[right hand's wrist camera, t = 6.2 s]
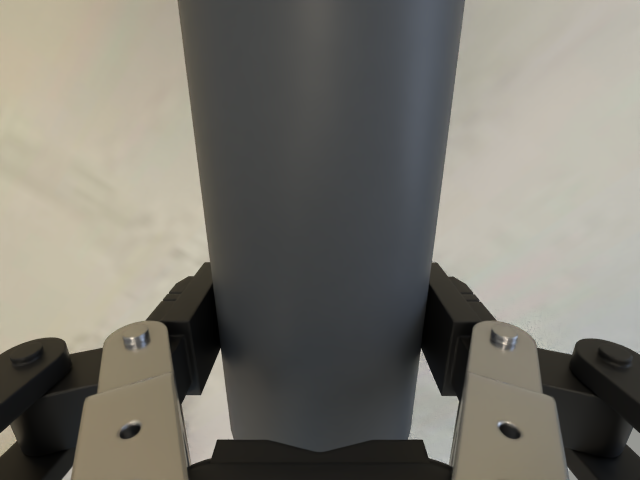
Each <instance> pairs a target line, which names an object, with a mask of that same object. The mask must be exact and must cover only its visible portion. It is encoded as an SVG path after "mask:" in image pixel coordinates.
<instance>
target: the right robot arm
mask: <svg viewBox="0 0 640 480" xmlns="http://www.w3.org/2000/svg"><path fill="white" fill-rule="evenodd" d="M220 348H221V345H220V337H219V329H218V321H217V313H216V305H215V297H214V289H213V280H212V272H211V264H210V262H205V263H204V264H203V265H202V267H201V268H200V269H199V270H198V272H197V273H196V274H195V276H188V277H187V278H185V279H183V280H182V281H180V282H178V283H177V284H176V285H175V286H174V287H173V288H172V289H171V291H170V292H169V294H167V295H166V297H165V298H164V299H163V301H161V303H160V304H159V305H158V306H157V307H156V309H155V310H154V311H153V312H152V313H151V315H150V316H149V317H148V318H147V319H146V321H141V322H136V323H132V324H129V325H126V326H124V327H122V328H120V329H118V330H116V331H115V332H113V333H112V334H111V335H110V336H109V337H108V338H107V339H106V340H105V342H104V345H103V348H99V349H95V350H89V351H84V352H79V353H74V354H69V352H68V349H67V345H66V343H65V341H64V340H62V339H59V338H41V339H36V340H32V341H28V342H25V343H22V344H20V345H17V346H15V347H13V348H11V349H9V350H7V351H5V352H4V353H2V354H0V433H1V432H2V431H3V430H4V429H5V428H7V427H8V426H9V425H11V428H12V430H13V432H14V435H15V437H16V439H17V442H16V443H15V444H14V445H12V446H11V447H10V448H9V449H8V450H7V451H6V452H5V453H4V454H3V455H2V456H1V457H0V480H62V479H63V478H64V476H65V475H66V474H67V473H68V472H69V470H70V469H71V468H72V467H73V468H72V474H71V480H569V474H568V468H569V469H570V470H571V472H572V473H573V474H574V475H575V476H576V478H577V479H578V480H640V457H639V456H638V455H637V454H636V453H635V452H634V451H633V450H632V449H631V448H630V447H629V446H628V445H626V443H627V440H628V438H629V436H630V433H631V431H632V429H633V428H635V429H636V430H637V431H638V432H639V433H640V355H639V354H638V353H636V352H634V351H633V350H631V349H629V348H626V347H624V346H622V345H619V344H616V343H613V342H610V341H606V340H601V339H582V340H579V341H578V342H577V343H576V344H575V348H574V351H573V354H572V355H570V354H565V353H560V352H555V351H550V350H545V349H540V348H537V345H536V342H535V340H534V339H533V338H532V337H531V336H530V335H529V334H528V333H527V332H525V331H524V330H522V329H520V328H518V327H516V326H514V325H511V324H508V323H504V322H499V321H497V320H496V319H495V318H494V317H493V316H492V314H491V313H490V312H489V311H488V310H487V309H486V307H485V306H484V305H483V304H482V303H481V302H479V299H478V298H477V297H476V296H475V294H473V292H472V291H471V290H470V288H469V287H468V286H467V285H466V284H465V283H463V282H461V281H460V280H458V279H456V278H455V277H448V276H447V275H446V273H445V272H444V271H443V270H442V268H441V267H440V266H439V264H438V263H432V264H431V272H430V280H429V288H428V296H427V304H426V312H425V319H424V327H423V335H422V343H421V349H422V351H423V353H424V356H425V358H426V360H427V363H428V365H429V367H430V370H431V372H432V375H433V377H434V379H435V382H436V384H437V386H438V389H439V391H440V393H441V396H457V397H458V399H459V405H458V411H457V416H456V423H455V429H454V435H453V442H452V448H451V454H450V460H449V465H448V464H445V463H442V462H439V461H437V460H433V459H430V458H428V455H427V452H426V449H425V445H424V442H423V440H369V441H365V442H361V443H357V444H353V445H349V446H345V447H341V448H337V449H333V450H329V451H325V452H315V451H311V450H307V449H303V448H299V447H295V446H291V445H287V444H283V443H279V442H275V441H271V440H217V442H216V445H215V449H214V452H213V455H212V458H211V459H207V460H203V461H201V462H198V463H195V464H192V465H191V460H190V454H189V448H188V442H187V435H186V429H185V423H184V416H183V411H182V405H181V404H182V402H183V400H184V398H185V396H186V395H201V394H202V391H203V389H204V386H205V384H206V382H207V379H208V377H209V374H210V372H211V370H212V367H213V365H214V363H215V360H216V358H217V355H218V353H219V351H220ZM567 467H568V468H567Z"/></svg>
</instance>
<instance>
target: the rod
mask: <svg viewBox="0 0 640 480" xmlns="http://www.w3.org/2000/svg"><path fill="white" fill-rule="evenodd" d="M464 4H465V0H178V7H179V15H180V23H181V31H182V39H183V47H184V55H185V63H186V71H187V79H188V87H189V95H190V104H191V112H192V120H193V128H194V136H195V144H196V152H197V160H198V168H199V176H200V184H201V192H202V200H203V208H204V216H205V224H206V232H207V240H208V248H209V256H210V264H211V272H212V280H213V289H214V297H215V305H216V313H217V321H218V329H219V337H220V345H221V353H222V361H223V369H224V377H225V385H226V393H227V401H228V409H229V417H230V425H231V431H232V435H233V438H234V440H271V441H275V442H279V443H283V444H287V445H291V446H295V447H299V448H303V449H307V450H311V451H315V452H325V451H329V450H333V449H337V448H341V447H345V446H349V445H353V444H357V443H361V442H365V441H369V440H408V437H409V433H410V430H411V422H412V414H413V406H414V398H415V390H416V382H417V375H418V367H419V359H420V351H421V343H422V335H423V327H424V319H425V312H426V304H427V296H428V288H429V280H430V272H431V264H432V256H433V248H434V241H435V233H436V225H437V217H438V209H439V201H440V193H441V185H442V177H443V170H444V162H445V154H446V146H447V138H448V130H449V122H450V114H451V107H452V99H453V91H454V83H455V75H456V67H457V59H458V51H459V43H460V36H461V28H462V20H463V12H464Z"/></svg>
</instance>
